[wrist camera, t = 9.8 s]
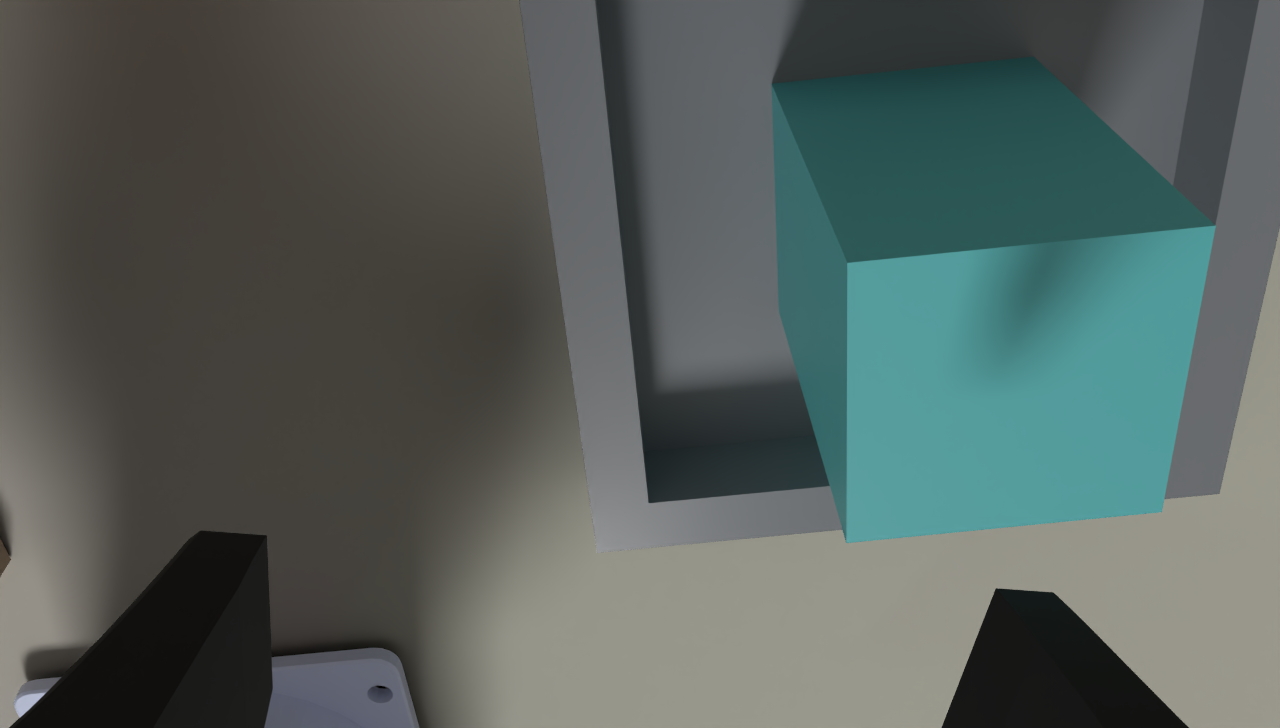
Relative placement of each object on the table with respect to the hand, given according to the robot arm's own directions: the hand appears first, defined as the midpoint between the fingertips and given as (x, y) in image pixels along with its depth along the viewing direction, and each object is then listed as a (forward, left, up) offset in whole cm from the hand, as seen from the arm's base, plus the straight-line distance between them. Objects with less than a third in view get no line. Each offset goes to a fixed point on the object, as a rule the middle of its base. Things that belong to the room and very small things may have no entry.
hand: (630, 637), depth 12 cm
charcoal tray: (0, -5, -9) cm, 10 cm away
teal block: (+1, -5, -9) cm, 10 cm away
